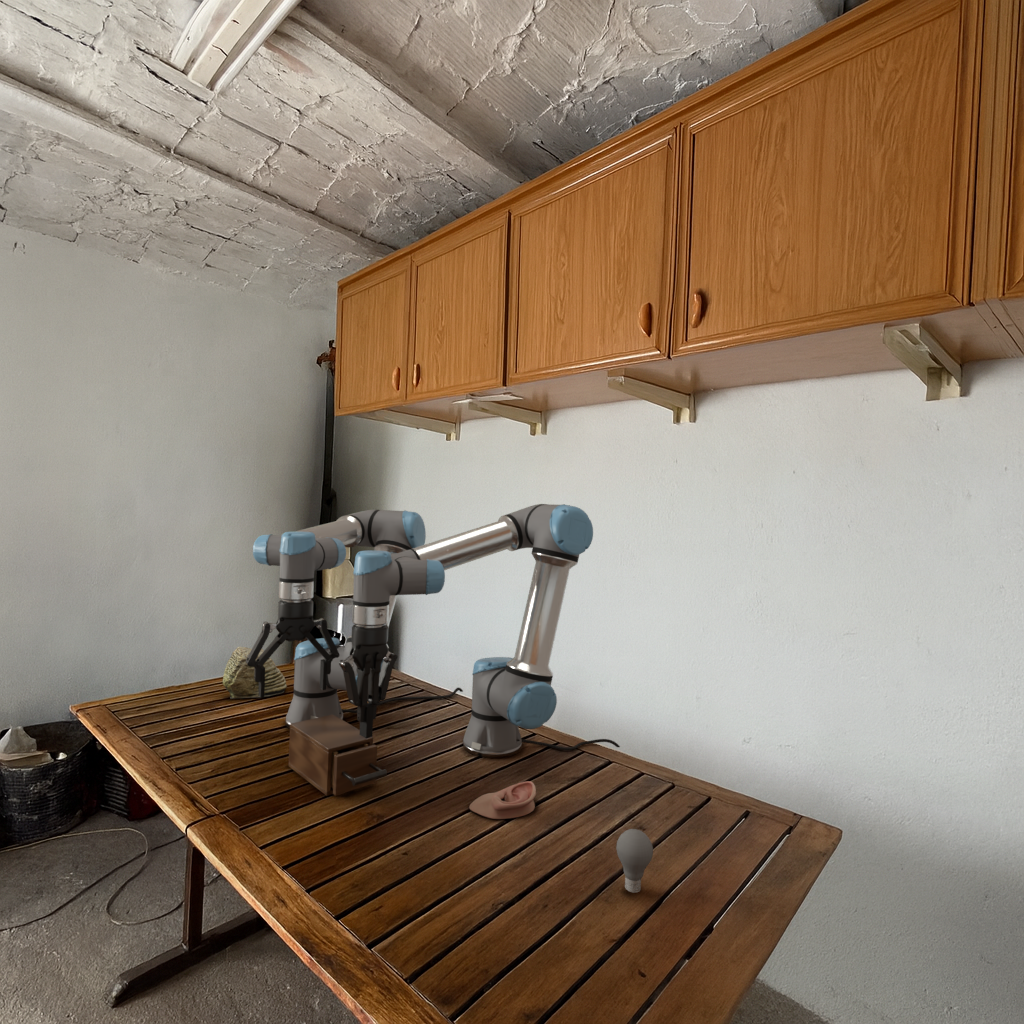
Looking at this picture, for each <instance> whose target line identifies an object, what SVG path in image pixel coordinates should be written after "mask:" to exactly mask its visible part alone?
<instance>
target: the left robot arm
mask: <svg viewBox="0 0 1024 1024" xmlns="http://www.w3.org/2000/svg"><path fill="white" fill-rule="evenodd" d="M426 533H427V532H426V525H425V521H424V519H423V517H422V516H421V515H420V514H419V513H418V512H416V511H409V510H392V509H391V510H390V509H389V510H388V509H377V508H375V509H366V510H361V511H358V512H354V513H349V514H345V515H342V516H340V517H338V519H336V521H331V522H328V523H323V524H319V525H315V526H311V527H307V528H304V529H303V528H302V529H298V530H295V531H285V532H283V533H281V534H270V533H269V534H262V535H259V536H258V537H257V538H256V539H255V541H254V542H253V545H252V556H253V558H254V560H255V562H256V563H258V564H260V565H267V566H270V567H271V566H274V567H275V566H276V567H279V579H278V598H279V601H278V606H277V620H276V622H268V621H263V622H262V625H261V631H260V633H259V636H258V637H257V639H256V641H255V643H254V644H253V646H252V648H251V649H252V650H251V652H250V654H249V656H248V657H247V659H246V663H247V665H248V666H252V667H254V680H255V681H256V682H259V696H260V697H259V698H260V699H263V698H265V697H264V693H265V667H264V666H263V665H264V663H265V662H266V661H267V660H268V659H269V658H271V656H272V655H273V654H274V653H275V652H276V650H278V648H279V647H280V646H281V645H282V644H284V643H285V641H286V642H288V643H289V642H294V641H299V643H298V644H297V645H296V647H295V652H294V653H295V654H294V658H293V660H294V672H293V673H294V674H293V695H292V696H293V697H292V699H291V702H290V704H289V708H288V711H287V713H286V715H285V726H286V728H287V729H289V730H290V724H291V723H296V722H301V721H305V720H310V719H314V718H319V717H323V716H328V715H334V716H336V717H338V718H340V719H341V720H343V721H344V713H347V714H357V709H350V708H349V709H347V708H342V706H341V702H340V699H339V695H338V691H346V692H347V689H346V684H345V678H344V673H343V670H342V668H341V667H340V665H339V661H340V660H345V659H346V658H347V657H349V656H350V651H351V649H352V642H351V637H352V634H351V635H349V636H348V637H347V638H346V641H345V645H340V644H341V641H340V639H339V638H337V637H332V636H331V634H330V631H329V630H328V622H327V620H326V619H325V618H323V617H320V618H319V619H314V617H313V616H314V601H313V600H312V599H313V598H314V589H315V588H314V586H315V585H314V584H315V583H314V581H315V572H317V571H323V570H332V569H335V568H337V567H339V566H341V565H342V564H343V563H344V562H345V560H346V558H347V549H346V548H354V547H365V548H374V549H373V550H375V551H387V552H390V553H400V552H403V551H406V550H410V549H413V548H416V547H419V546H422V545H425V544H426V538H427V536H426V535H427V534H426ZM397 598H398V595H390V599H389V601H390V604H389V620H388V623H387V624H386V625H387V626H388V629H389V628H390V623H391V619H392V616H393V612H394V609H395V606H396V602H397ZM315 626H316V628H317V629H318V630H319V631H320V633H321V635H322V637H321V638H315V637H314V636H313V634H311V631H312V630H313V629H314V627H315ZM275 629H276V631H277V632H278V633H277V634H276V635H275V636H274V638H273V639H272V640H271V642H270V644H268V646H267V647H266V648H265V649H263V647H264V646H265V643H266V642H267V640H268V638H269V635H270V633H273V631H274V630H275ZM306 639H307V640H306ZM303 640H304V641H303ZM300 641H301V642H300ZM387 647H388V649H390V647H389V645H388V644H387ZM261 649H263V650H264V652H263V653H262V654H261V655H260V656H259V657H258V659H257V660H256V658H257V656H258V655H259V653H260V651H261ZM383 661H384V659H383ZM383 661H382V663H383ZM382 663H381V667H382ZM353 665H354V667H353V670H354V673H355V679H356V684H357V675H358V673H357V670H356V669H357V666H356V664H355V663H354V661H353ZM379 675H380V673H379ZM458 691H459V692H460V693H463V692H464V690H463V689H462V688H461V687H456V688H455V689H454V690H453V691H452V692H451V693H450V694H449V693H448V694H444V695H426V696H425V695H423V696H402V697H401V696H400V697H394V698H393V697H392V698H388V699H385V700H383V701H382V700H381V701H379V702H380V704H379V706H382V705H385V704H388V703H392V702H399V701H414V700H419V701H420V700H441V699H442V700H443V699H449V698H451V697H453V696H454V695H456V693H457V692H458Z"/></svg>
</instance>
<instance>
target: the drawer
mask: <svg viewBox="0 0 1024 1024" xmlns="http://www.w3.org/2000/svg"><path fill="white" fill-rule="evenodd" d="M377 760H378V745H376V744H373V745H370V746H368V744H367V743H364V744H360V745H356V746H353V747H349V748H345V749H341V750H337V751H334V752H332V761H331V788H333V794H332V795H333V796H339V795H343V794H346V793H348V792H352V791H355V790H358V789H362V788H364V787H368V786H370V785H374V784H376V783H377V780H379V779H382V778H385V777H387V775H388V771H387V769H385V768H383V769H381V768H380V767H379V766H377Z"/></svg>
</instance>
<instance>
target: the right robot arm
mask: <svg viewBox="0 0 1024 1024" xmlns="http://www.w3.org/2000/svg"><path fill="white" fill-rule="evenodd" d="M593 538H594V527H593V523H592V520H591V519H590V517H589V515H588V513H586V511H585V510H584V509H582V508H580V507H578V506H574V505H571V504H549V503H548V504H547V503H538V504H533V505H529V506H526V507H524V508H521V509H517V510H515V511H512V512H511V513H507V514H503V515H501V516H500V517H499V518H498V520H497V521H495V522H491V523H489V524H485V525H482V526H479V527H476V528H473V529H470V530H466V531H463V532H460V533H457V534H454V535H451V536H447V537H445V538H441V539H438V540H434V541H431V542H429V543H425V544H424V545H422V546H419V547H416V548H413V549H410V550H406V551H403V552H400V553H390V552H387V551H375V550H374V549H373V550H371V549H369V550H367V549H366V550H360V551H358V552H357V553H356V554H355V558H354V565H353V572H352V573H353V591H352V592H353V593H352V595H353V596H352V597H353V598H352V599H353V600H352V614H351V622H352V623H353V625H352V626H351V635H352V637H351V642H352V649H351V651H350V656H349V657H347V658H346V659H345V660H340V661H339V665H340V667H341V668H342V670H343V673H344V678H345V684H346V689H347V691H346V694H347V699H348V703H349V704H351V705H352V706H355V707H356V710H357V713H356V720H357V722H359V730H360V735H361V736H363V737H364V738H370V737H373V732H374V731H373V730H374V720H376V718H377V711H378V710H377V709H378V707H379V706H380V705H379V704H380V702H381V701H385V700H386V697H387V694H388V693H387V692H388V689H389V685H390V680H391V677H392V676H391V675H392V672H393V668H394V665H395V663H396V661H397V660H398V657H399V656H398V654H395V653H392V652H391V651H389V648H388V647H389V646H388V647H387V645H388V641H389V628H388V626H387V625H386V624H387V623H388V620H389V604H390V601H389V599H390V595H397V596H409V595H410V596H411V595H413V596H414V595H418V596H419V595H425V596H427V595H432V594H439V593H440V592H441V591H442V590H443V588H444V585H445V580H446V573H445V571H448V570H450V569H453V568H456V567H460V566H462V565H465V564H468V563H470V562H473V561H476V560H480V559H483V558H485V557H489V556H491V555H495V554H497V553H499V552H503V551H505V550H508V551H510V552H514V551H518V550H521V549H531V552H530V553H531V555H532V557H533V559H534V560H535V565H534V567H533V568H534V569H533V573H532V577H531V581H530V586H529V590H528V594H527V599H526V604H525V608H524V612H523V617H522V622H521V626H520V630H519V635H518V640H517V643H516V648H515V653H514V657H507V656H494V657H483V658H479V659H477V660H475V662H474V663H473V669H472V674H471V675H472V686H471V687H472V689H471V714H470V715H471V716H470V719H469V721H468V724H467V726H466V729H465V733H464V735H463V739H462V747H463V749H464V750H465V751H466V752H467V753H469V754H471V755H474V756H477V757H481V758H487V759H488V758H489V759H501V758H507V757H508V758H509V757H512V756H515V755H516V754H518V753H519V752H521V751H522V748H523V747H522V746H523V743H524V744H532V745H537V746H542V747H546V748H547V747H548V748H551V749H555V750H559V751H574V750H576V749H578V748H579V747H581V746H585V745H591V744H597V743H609V744H612V745H613V746H615V747H616V748H620V747H621V746H620V745H619V744H618V742H616V741H614V740H611V739H609V738H599V739H598V738H597V739H593V740H586V741H581V742H578V743H577V744H576V745H574V746H569V747H565V746H559V745H555V744H551V743H547V742H542V741H538V740H537V741H536V740H530V739H525V738H522V734H521V732H520V728H521V729H524V730H535V729H538V728H540V727H543V725H544V724H545V723H548V721H549V720H550V719H551V718H552V717H553V715H554V713H555V711H556V708H557V703H558V698H557V694H556V693H555V692H556V691H555V689H554V688H553V686H552V682H553V678H554V672H553V671H552V669H551V667H550V661H551V657H552V653H553V648H554V645H555V644H554V643H555V638H556V634H557V630H558V625H559V620H560V616H561V611H562V606H563V603H564V598H565V593H566V590H567V584H568V579H569V575H570V570H571V569H573V567H575V566H577V565H578V562H579V560H580V559H579V557H580V555H581V554H583V553H585V552H586V550H588V549H589V547H591V544H592V543H593ZM383 659H384V661H383ZM353 661H354V663H355V664H356V666H357V669H356V670H357V673H358V675H357V684H356V679H355V673H354V670H353V667H354V665H353ZM382 661H383V663H382ZM381 663H382V667H381ZM379 673H380V675H379ZM519 727H520V728H519Z"/></svg>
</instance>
